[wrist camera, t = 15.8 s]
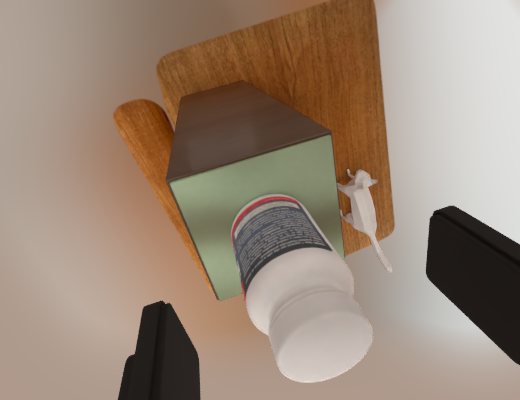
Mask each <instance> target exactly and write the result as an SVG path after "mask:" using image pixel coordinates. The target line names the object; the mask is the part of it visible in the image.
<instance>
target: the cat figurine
mask: <svg viewBox="0 0 520 400" xmlns="http://www.w3.org/2000/svg"><path fill="white" fill-rule="evenodd" d="M347 174H348V176H349V177H350V178H351V179H352V180H351V181H350V182H349V183H348V184H347V185H341V184H339V183H337V187H338V189H339V190H340V191H342V192H343V193H344V194H346V195H347V196H348V197H350V200H351V209H352V213H348V214H346V217H344V216H343V215H342V211H341V210H340V214H341V217H342V218H343V219H344V220H345V221H346V222H347V223H351V225H352V226H353V227H354V229H357V230H359V231H361V232H363V233H366V234H367V235H368V236H369V237H370V240H371V243H372V245H373V248H374V250H375V253H376V255H377V257H378V259H379V260H380V262H381V264H382V266H383V267H384V269H385V270H386V272H389V273H392V266H391V264H390V262H389V261H388V259H387V258H386V256H385V255H384V254H383V252H382V250H381V248H380V246H379V245H378V242H377V239H376V237H375V232H376V227H377V224H376V217H375V209H374V205H373V201H372V197H371V194H370V191H369V189H368V187H369V186H371V185H373V184H376V183H377V181H378V180H371V178H370V175H369V174H368V173H366V172H365V171H363V170H358V171H357V172H356V175H355V176H353V175H351V174H350V171H349V169H347Z"/></svg>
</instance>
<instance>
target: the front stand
mask: <svg viewBox="0 0 520 400" xmlns="http://www.w3.org/2000/svg"><path fill="white" fill-rule="evenodd" d="M166 182H167V184H168V187H169V189H170V191H171V194H172V196H173V198H174V200H175V203H176V205H177V207H178V210H179V212H180V214H181V217H182V219H183V221H184V224H185V226H186V228H187V231H188V233H189V235H190V238H191V240H192V242H193V245H194V247H195V249H196V251H197V254H198V256H199V258H200V261H201V263H202V265H203V268H204V270H205V272H206V275H207V277H208V279H209V282H210V284H211V286H212V289H213V291H214V293H215V296H216V298H217V300H220V301H222V300H225V299H228V298H231V297H234V296H237V295H240V294H243V290H242V286H241V281H240V276H239V272H238V267H237V263H236V259H235V255H234V250H233V246H232V241H231V228H232V224H233V221H234V219H235V217H236V216H237V214H238V213H239V211H240V210H241V209H242V208H243V207H244V206H245V205H246V204H248V203H249V202H251V201H252V200H254V199H256V198H258V197H261V196H264V195H269V194H283V195H288V196H290V197H293V198H295V199H296V200H298V201H299V202H300V203H301V204H302V205H304V207H305V208H306V209H307V211H308V212H309V214H310V215H311V217H312V218H313V220H314V221H315V223H316V224H317V225H318V227H319V228H320V230H321V231H322V233H323V234H324V235H325V237H326V238H327V239H328V241H329V242H330V243H331V245H332V246H333V247H334V249H335V250H336V251H337V253H338V254H339V255H340V256H341V258H342V259H343V260H344V259H345V251H344V242H343V233H342V223H341V214H340V205H339V196H338V187H337V178H336V168H335V159H334V150H333V141H332V132H331V130H329V129H327V128H326V127H324V126H322V125H320V124H319V123H317V122H315V121H313V120H311V119H310V118H308V117H306V116H304V115H303V114H301V113H299V112H297V111H296V110H294V109H292V108H290V107H289V106H287V105H285V104H283V103H281V102H280V101H278V100H276V99H274V98H273V97H271V96H269V95H267V94H266V93H264V92H262V91H260V90H259V89H257V88H255V87H253V86H252V85H250V84H248V83H246V82H244V81H243V80H242V81H239V82H235V83H231V84H228V85H224V86H220V87H217V88H213V89H210V90H206V91H202V92H199V93H195V94H191V95H188V96H184V97H181V100H180V105H179V111H178V116H177V122H176V127H175V133H174V138H173V144H172V149H171V155H170V160H169V166H168V171H167V177H166Z"/></svg>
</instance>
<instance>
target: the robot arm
mask: <svg viewBox="0 0 520 400" xmlns="http://www.w3.org/2000/svg"><path fill="white" fill-rule="evenodd" d="M426 274H427V277H428V278H429V280H430V281H431V282H432V283H433V284H434V285H435V286H436V287H437V288H438V289H439V290H440V291H441V292H442V293H443V294H444V295H445V296H446V297H447V298H448V299H449V300H451V302H453V303H454V304H455V305H456V306H457V307H458V308H459V309H460V310H461V311H462V312H463V313H464V314H465V315H466V316H467V317H469V319H470V320H471V321H472V322H473V323H474V324H475V325H476V326H478V327H479V328H480V329H481V330H482V331H483V332H484V333H485V334H486V335H487V336H488V337H489V338H490V339H491V340H492V341H493V342H494V343H495V344H496V345H497V346H498V347H499V348H501V350H503V351H504V352H505V353H506V354H507V355H508V356H509V357H510V358H511V359H512V360H513V361H514V362H515V363H517V364H519V365H520V244H518V243H516V242H515V241H513V240H511V239H509V238H508V237H506V236H504V235H503V234H501V233H499V232H498V231H496V230H494V229H492V228H491V227H489V226H488V225H486V224H484V223H482V222H481V221H479V220H477V219H476V218H474V217H472V216H471V215H469V214H467V213H466V212H464V211H462V210H460V209H459V208H457V207H455V206H448V207H445V208H442V209H439V210H436V211H434V213H433V216H432V217H431V218H430V225H429V237H428V250H427V262H426ZM199 376H200V374H199V358H198V354H197V351H196V349H195V348H194V345H193V344H192V342H191V340H190V338H189V336H188V334H187V333H186V331H185V329H184V327H183V325H182V324H181V322H180V320H179V318H178V316H177V314H176V313H175V311H174V309H173V307H172V305H171V304H170V303H167V304H165V303H164V302H163V301H159V302H156V303H153V304H150V305H147V306H145V307H144V308H143V311H142V317H141V322H140V328H139V334H138V340H137V345H136V351H135V354H134V355H131V356H129V357H128V359H127V360H126V363H125V368H124V372H123V377H122V382H121V387H120V392H119V397H118V400H200V377H199Z"/></svg>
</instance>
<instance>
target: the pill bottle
mask: <svg viewBox="0 0 520 400" xmlns="http://www.w3.org/2000/svg"><path fill="white" fill-rule="evenodd" d="M231 241H232V246H233V250H234V255H235V259H236V263H237V267H238V272H239V276H240V281H241V286H242V290H243V294H244V300H245V304H246V307H247V311H248V314H249V316H250V318H251V320H252V322H253V323H254V325H255V326H256V327H257V328H258V329H259V330H260V331H262V332H263V333H265V334H267V335H268V336H269V340H270V344H271V347H272V349H273V353H274V356H275V359H276V362H277V365H278V368H279V370H280V371H281V372H282V374H283V375H284V376H286V377H287V378H288V379H291V380H293V381H297V382H305V383H311V382H319V381H324V380H327V379H330V378H333V377H336V376H338V375H340V374H342V373H344V372H346V371H347V370H349V369H350V368H352V367H353V366H354V365H356V364H357V363H358V362H359V361H360V360H361V359H362V358H363V357H364V356H365V354H366V353H367V351H368V350H369V348H370V346H371V344H372V340H373V330H372V326H371V325H370V323H369V321H368V319H367V317H366V316H365V314H364V312H363V311H362V309H361V308H360V305H359V304H358V302H357V301H355V299H353V294H354V279H353V276H352V273H351V271H350V269H349V267H348V266H347V264H346V263H345V262H344V260H343V259H342V258H341V256H340V255H339V254H338V253H337V251H336V250H335V249H334V247H333V246H332V245H331V243H330V242H329V241H328V239H327V238H326V237H325V235H324V234H323V233H322V231H321V230H320V228H319V227H318V225H317V224H316V223H315V221H314V220H313V218H312V217H311V215H310V214H309V212H308V211H307V209H306V208H305V207H304V205H302V204H301V203H300V202H299V201H298V200H296V199H295V198H293V197H290V196H288V195H283V194H269V195H264V196H261V197H258V198H256V199H254V200H252V201H251V202H249V203H248V204H246V205H245V206H244V207H243V208H242V209H241V210H240V211H239V213H238V214H237V216H236V217H235V219H234V221H233V224H232V228H231Z"/></svg>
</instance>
